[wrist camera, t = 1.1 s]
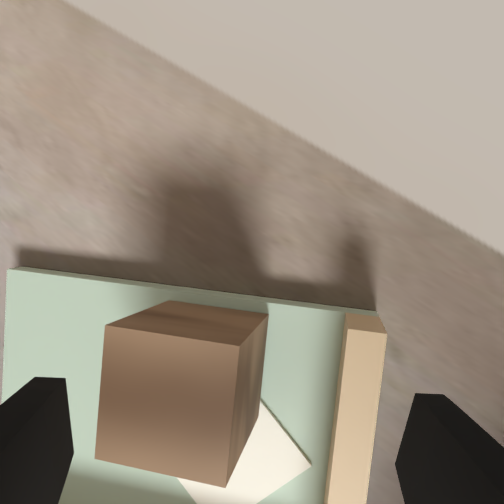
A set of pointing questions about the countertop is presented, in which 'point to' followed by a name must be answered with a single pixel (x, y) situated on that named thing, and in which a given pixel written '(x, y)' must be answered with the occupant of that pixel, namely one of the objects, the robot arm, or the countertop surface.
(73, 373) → the corner board
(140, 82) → the countertop surface
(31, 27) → the countertop surface
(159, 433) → the walnut block
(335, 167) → the countertop surface
